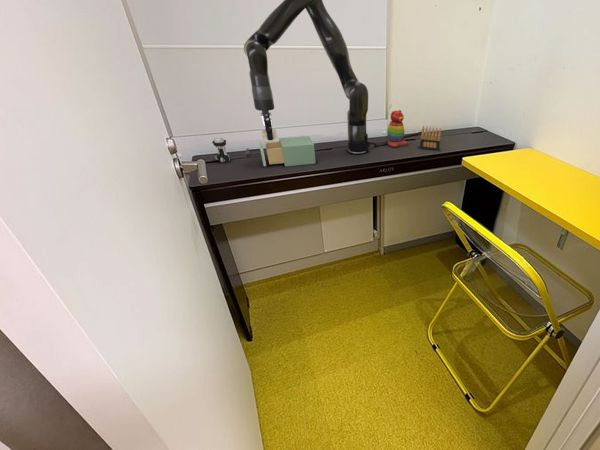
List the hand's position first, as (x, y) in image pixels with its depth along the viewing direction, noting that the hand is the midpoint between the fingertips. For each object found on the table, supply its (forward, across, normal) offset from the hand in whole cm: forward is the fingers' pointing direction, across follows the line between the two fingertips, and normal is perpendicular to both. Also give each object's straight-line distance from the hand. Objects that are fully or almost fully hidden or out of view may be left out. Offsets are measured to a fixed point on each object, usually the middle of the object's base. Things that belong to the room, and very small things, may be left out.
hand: (270, 138), depth 136 cm
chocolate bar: (0, 0, 0) cm, 0 cm away
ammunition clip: (+11, -2, -80) cm, 81 cm away
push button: (+12, +8, +21) cm, 25 cm away
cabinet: (+11, 0, -11) cm, 16 cm away
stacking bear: (+11, +10, -65) cm, 67 cm away
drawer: (+11, 0, +2) cm, 11 cm away
